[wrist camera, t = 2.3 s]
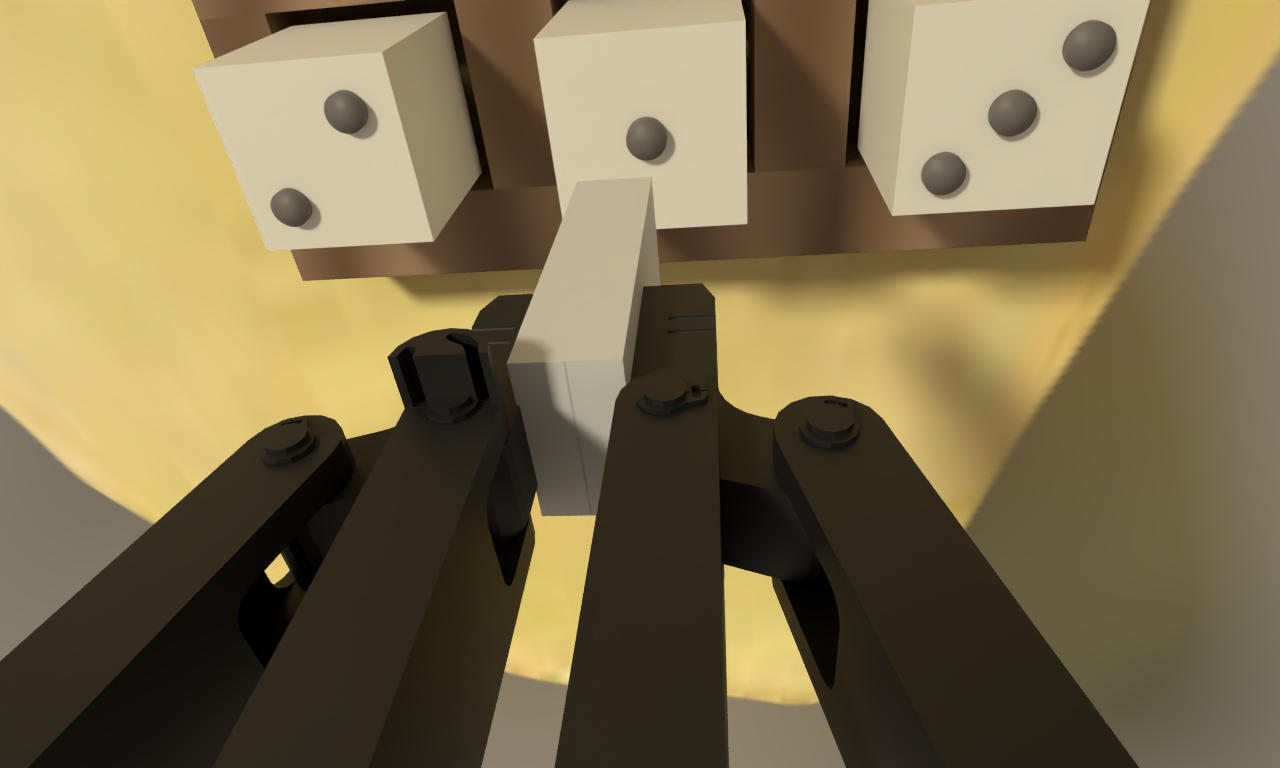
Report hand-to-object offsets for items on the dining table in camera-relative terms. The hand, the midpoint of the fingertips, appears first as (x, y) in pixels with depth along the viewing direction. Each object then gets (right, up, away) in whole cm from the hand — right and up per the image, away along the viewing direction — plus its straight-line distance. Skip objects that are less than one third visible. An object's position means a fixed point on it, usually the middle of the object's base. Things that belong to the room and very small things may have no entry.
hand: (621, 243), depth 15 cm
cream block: (+1, +7, +10) cm, 12 cm away
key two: (-8, +7, +11) cm, 15 cm away
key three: (+10, +8, +9) cm, 16 cm away
